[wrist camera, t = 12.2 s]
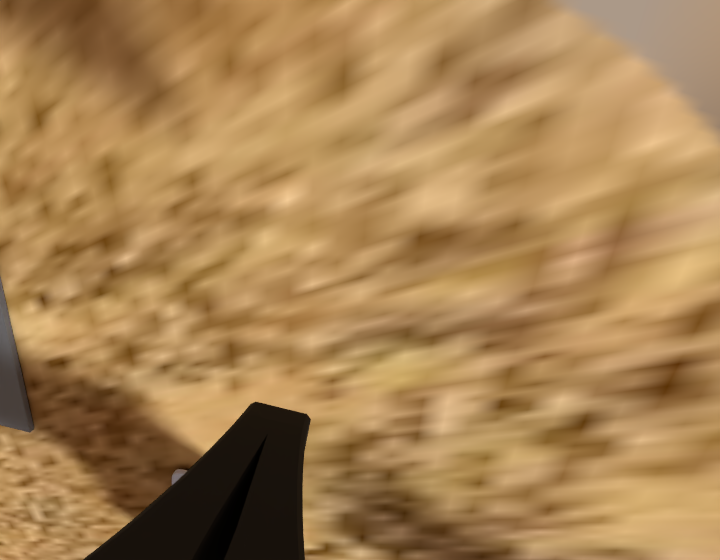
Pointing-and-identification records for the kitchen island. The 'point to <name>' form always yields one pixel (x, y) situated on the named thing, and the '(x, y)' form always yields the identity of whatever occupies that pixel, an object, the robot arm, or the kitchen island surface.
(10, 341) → the mat
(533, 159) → the kitchen island surface
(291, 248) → the kitchen island surface
